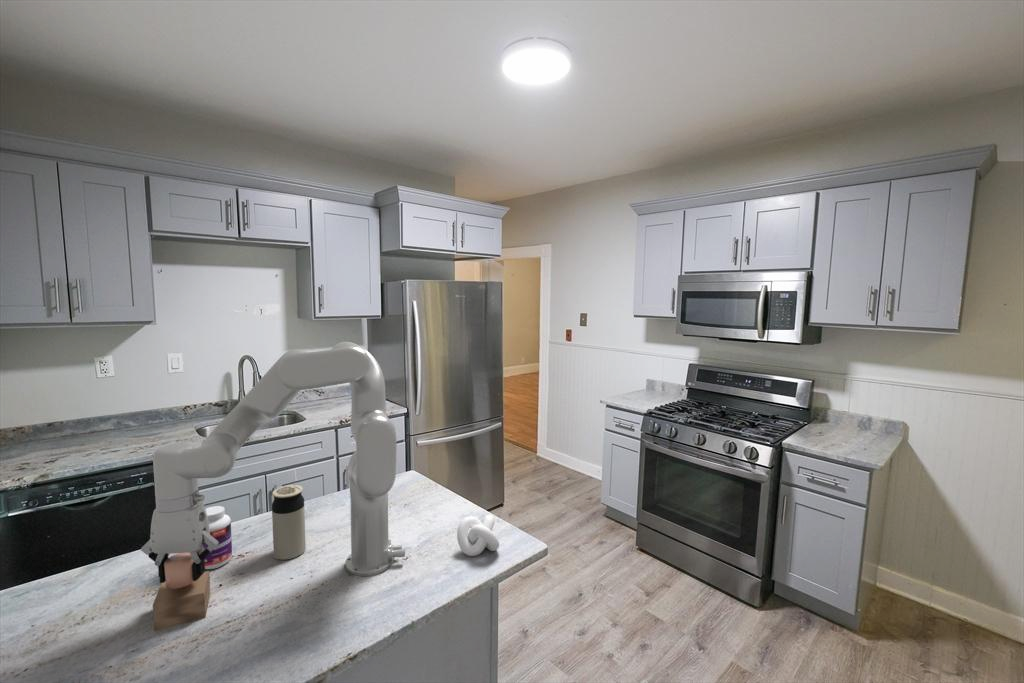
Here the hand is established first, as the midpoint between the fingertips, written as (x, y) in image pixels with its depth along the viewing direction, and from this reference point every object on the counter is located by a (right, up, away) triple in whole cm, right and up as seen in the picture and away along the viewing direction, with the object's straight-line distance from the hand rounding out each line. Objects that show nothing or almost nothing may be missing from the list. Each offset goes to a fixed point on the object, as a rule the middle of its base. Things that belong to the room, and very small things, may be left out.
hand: (182, 577), depth 100 cm
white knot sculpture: (+65, -7, +27) cm, 71 cm away
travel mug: (+12, -6, +24) cm, 28 cm away
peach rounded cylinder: (0, -1, 0) cm, 1 cm away
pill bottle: (-5, -6, +19) cm, 21 cm away
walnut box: (0, -8, +1) cm, 8 cm away
